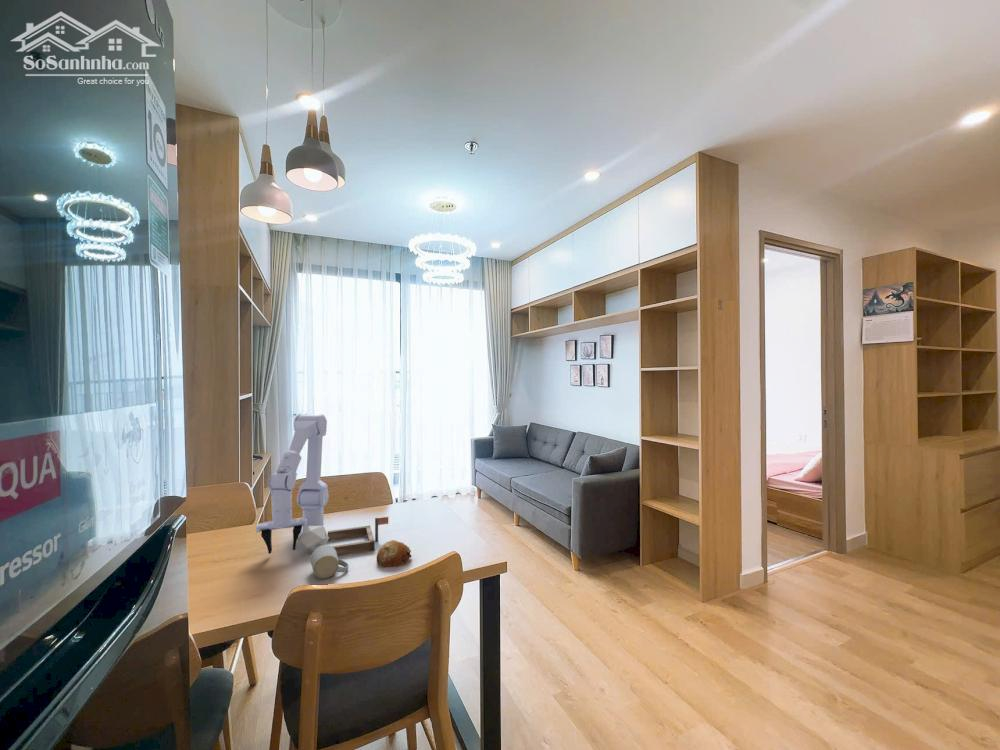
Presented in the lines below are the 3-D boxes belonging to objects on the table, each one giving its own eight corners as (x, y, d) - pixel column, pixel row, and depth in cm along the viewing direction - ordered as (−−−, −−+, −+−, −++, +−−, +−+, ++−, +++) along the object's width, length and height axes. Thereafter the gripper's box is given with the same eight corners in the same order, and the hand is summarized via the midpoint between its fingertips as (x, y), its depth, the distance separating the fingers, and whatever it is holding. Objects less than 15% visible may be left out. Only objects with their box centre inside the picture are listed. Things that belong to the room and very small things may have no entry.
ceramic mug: (313, 583, 118) (313, 556, 118) (310, 571, 125) (310, 546, 125) (350, 575, 123) (351, 549, 123) (346, 564, 130) (346, 540, 130)
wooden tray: (327, 539, 149) (327, 517, 149) (385, 531, 156) (385, 510, 156) (327, 557, 134) (327, 532, 134) (391, 547, 142) (391, 524, 142)
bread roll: (388, 564, 137) (378, 542, 137) (416, 551, 137) (406, 529, 137) (378, 580, 127) (367, 555, 127) (409, 565, 127) (398, 541, 127)
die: (309, 560, 134) (328, 532, 136) (288, 545, 135) (308, 518, 138) (319, 558, 141) (337, 532, 144) (299, 544, 143) (318, 519, 146)
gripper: (254, 515, 129) (254, 559, 130) (306, 509, 135) (306, 551, 135) (258, 508, 136) (258, 550, 136) (307, 503, 142) (307, 543, 142)
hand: (282, 550), depth 136 cm, fingers open, 6 cm apart
